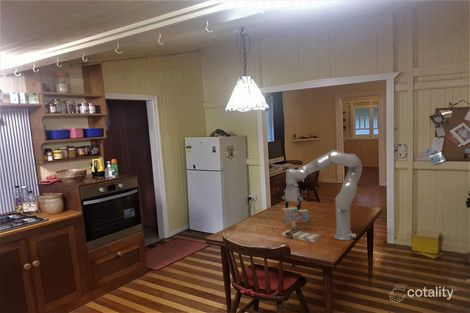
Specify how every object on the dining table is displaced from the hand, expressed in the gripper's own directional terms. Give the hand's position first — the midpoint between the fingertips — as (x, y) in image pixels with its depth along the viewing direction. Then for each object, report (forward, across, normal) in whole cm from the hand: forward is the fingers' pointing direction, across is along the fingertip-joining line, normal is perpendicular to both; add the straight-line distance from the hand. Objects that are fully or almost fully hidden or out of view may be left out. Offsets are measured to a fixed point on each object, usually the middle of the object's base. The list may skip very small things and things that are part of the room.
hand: (292, 208), depth 242 cm
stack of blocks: (+20, +16, -30) cm, 40 cm away
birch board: (+20, -6, 0) cm, 21 cm away
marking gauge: (+20, 0, 0) cm, 20 cm away
